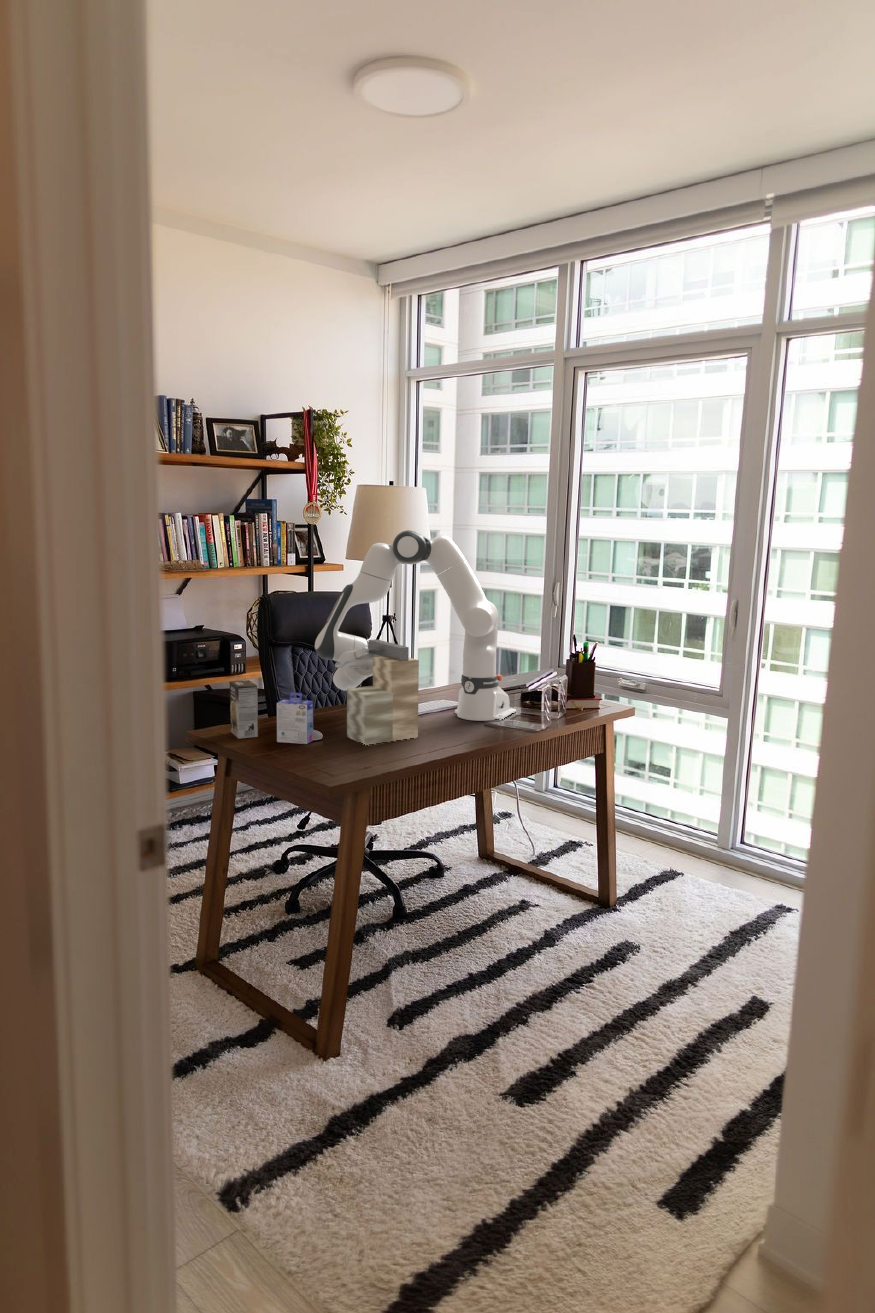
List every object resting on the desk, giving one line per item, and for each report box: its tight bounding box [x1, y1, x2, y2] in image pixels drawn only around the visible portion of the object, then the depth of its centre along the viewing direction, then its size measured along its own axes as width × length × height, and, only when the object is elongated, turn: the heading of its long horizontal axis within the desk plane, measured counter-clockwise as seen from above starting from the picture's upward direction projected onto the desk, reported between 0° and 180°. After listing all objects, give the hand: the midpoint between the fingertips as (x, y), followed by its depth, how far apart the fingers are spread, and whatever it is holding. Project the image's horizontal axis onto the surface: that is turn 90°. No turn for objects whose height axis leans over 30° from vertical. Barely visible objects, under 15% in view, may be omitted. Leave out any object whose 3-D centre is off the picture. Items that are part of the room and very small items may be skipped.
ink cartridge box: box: [276, 692, 314, 745], centre depth 265 cm, size 10×6×14 cm, turn 78°
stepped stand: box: [346, 656, 420, 746], centre depth 270 cm, size 12×18×24 cm, turn 124°
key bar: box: [368, 639, 410, 661], centre depth 274 cm, size 19×3×4 cm, turn 34°
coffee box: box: [228, 679, 259, 739], centre depth 272 cm, size 9×6×16 cm
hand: (379, 648), depth 278 cm, fingers open, 8 cm apart
